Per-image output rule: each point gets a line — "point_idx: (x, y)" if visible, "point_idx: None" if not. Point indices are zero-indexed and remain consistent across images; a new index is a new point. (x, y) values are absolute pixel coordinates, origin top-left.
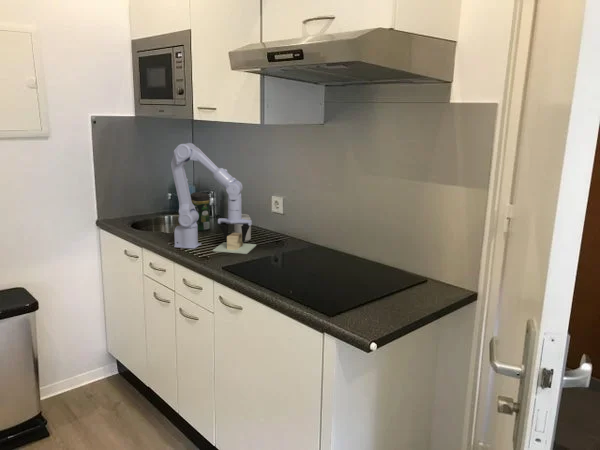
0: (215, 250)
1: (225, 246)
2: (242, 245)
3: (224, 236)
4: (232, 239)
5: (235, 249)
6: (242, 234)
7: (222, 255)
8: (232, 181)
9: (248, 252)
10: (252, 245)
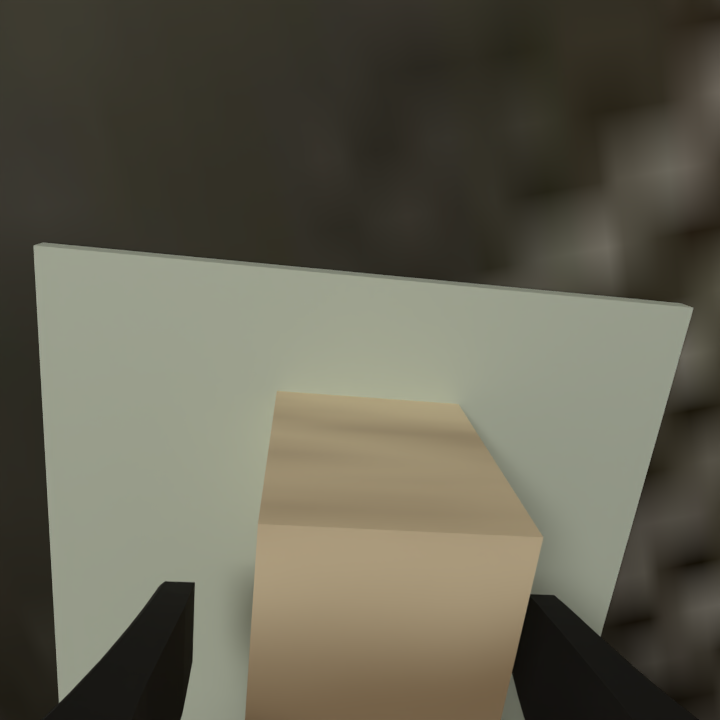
0: (642, 301)
1: None
2: None
3: (604, 645)
4: (379, 495)
5: (303, 394)
6: (126, 697)
7: (474, 53)
8: None
9: (48, 336)
10: None
